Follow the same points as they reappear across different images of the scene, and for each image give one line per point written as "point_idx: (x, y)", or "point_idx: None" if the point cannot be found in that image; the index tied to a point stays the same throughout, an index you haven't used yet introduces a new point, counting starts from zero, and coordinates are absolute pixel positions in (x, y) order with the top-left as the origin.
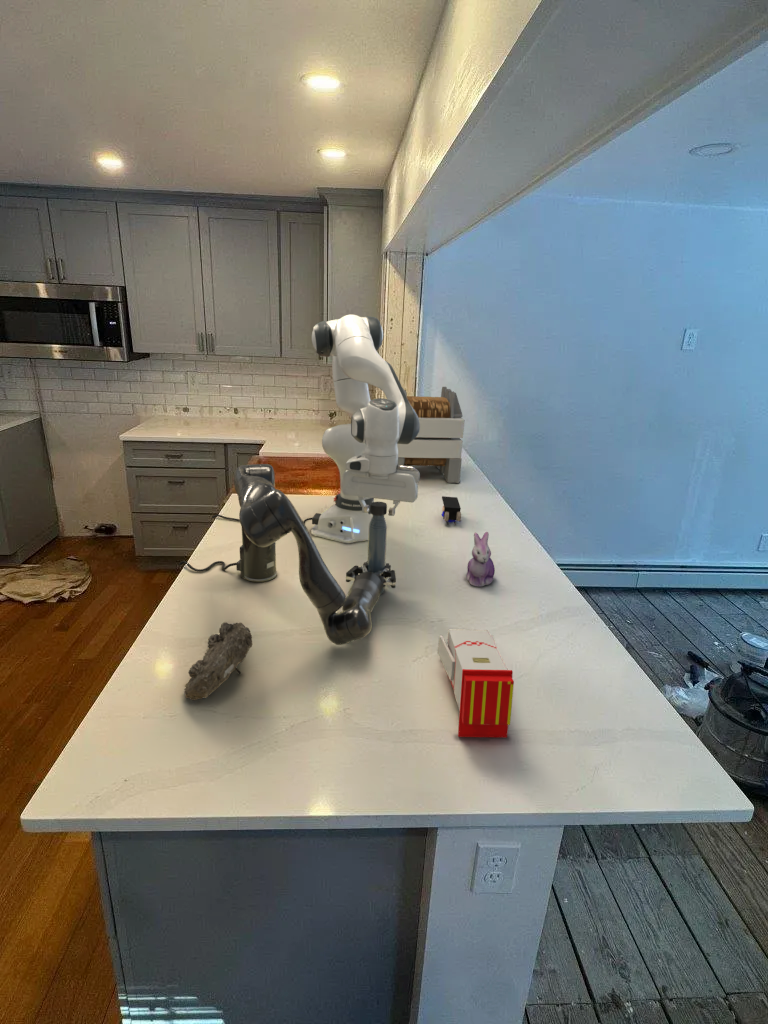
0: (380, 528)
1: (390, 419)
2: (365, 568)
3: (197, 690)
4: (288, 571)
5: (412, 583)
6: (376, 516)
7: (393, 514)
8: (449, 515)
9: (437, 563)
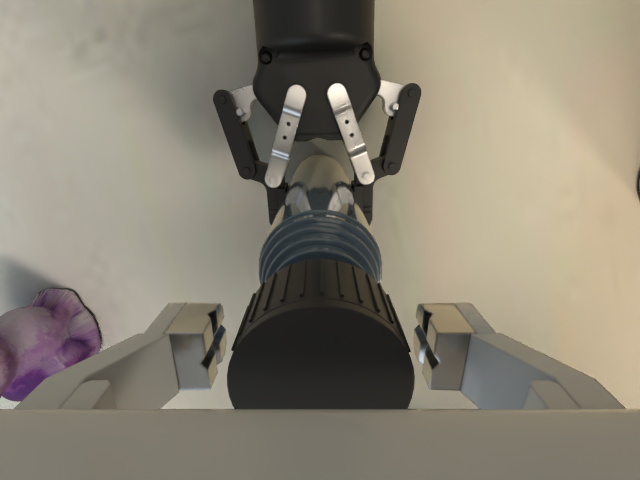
0: (288, 223)
1: None
2: (350, 144)
3: None
4: (600, 222)
5: (228, 256)
6: None
7: (166, 307)
8: None
9: None
